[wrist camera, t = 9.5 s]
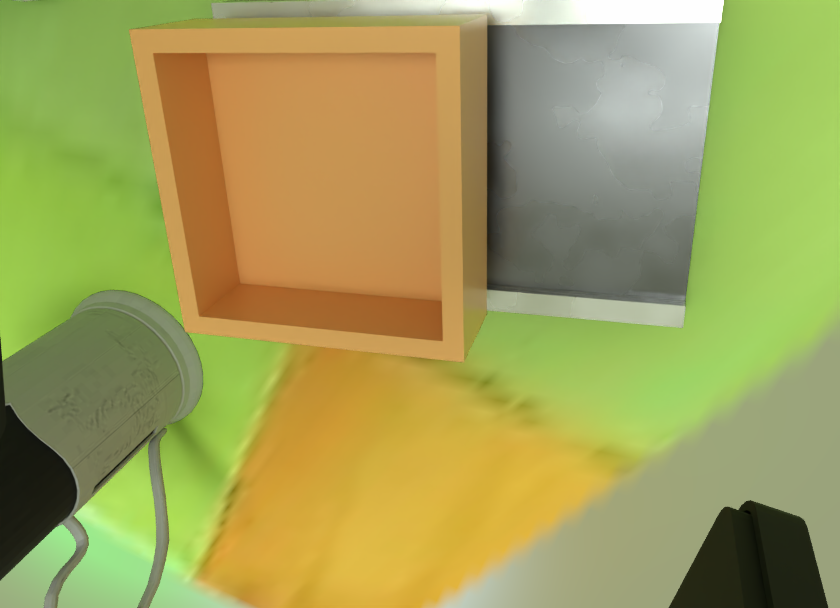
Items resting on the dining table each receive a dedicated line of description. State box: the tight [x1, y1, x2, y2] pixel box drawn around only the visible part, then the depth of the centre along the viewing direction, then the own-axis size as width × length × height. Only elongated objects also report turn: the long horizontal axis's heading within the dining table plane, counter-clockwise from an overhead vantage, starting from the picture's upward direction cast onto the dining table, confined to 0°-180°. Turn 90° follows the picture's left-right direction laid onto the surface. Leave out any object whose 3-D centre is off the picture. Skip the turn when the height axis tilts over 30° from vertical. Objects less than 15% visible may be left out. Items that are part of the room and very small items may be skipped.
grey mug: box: [0, 290, 203, 608], centre depth 38 cm, size 9×14×15 cm, turn 38°
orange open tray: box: [129, 14, 487, 362], centre depth 30 cm, size 12×12×6 cm
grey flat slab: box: [211, 0, 723, 328], centre depth 32 cm, size 20×13×2 cm, turn 92°
